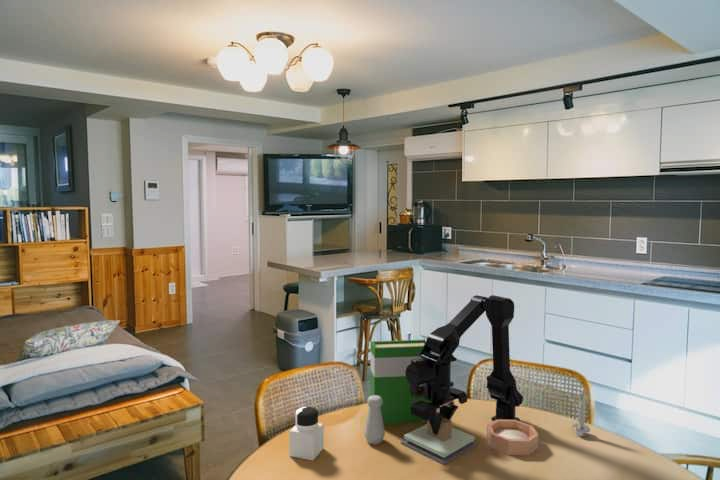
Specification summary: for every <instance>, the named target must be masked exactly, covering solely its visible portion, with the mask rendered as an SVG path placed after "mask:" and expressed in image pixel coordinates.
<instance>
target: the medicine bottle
mask: <svg viewBox="0 0 720 480" xmlns="http://www.w3.org/2000/svg"><path fill="white" fill-rule="evenodd" d="M324 432H325V427H324V424H323V423H322V422H319V411H318V409H316V408H315V407H312V406H303V407H300V408H298V409H296V411H295V425H294V426H293V427H292V428H291V429H290V430H289V433H288V435H289V436H288V443H289V447H288V448H289V452H288V455H289V457H293V458H296V459H297V458H298V459H301V460H308V461H311V462H312V461H314V460H315V459H316V458H317V456H318V455H319V454H320V453H321V452H322V451H323V450H324V447H325V446H324V445H325V439H324V434H325V433H324Z"/></svg>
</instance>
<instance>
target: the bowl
mask: <svg viewBox="0 0 720 480" xmlns="http://www.w3.org/2000/svg"><path fill="white" fill-rule="evenodd" d="M539 435H540V434H539V433H538V432H537V430H536V429H535V427H534V426H533V425H531V424H528V423H525V422H523V421H520V420H519V421H517V420H503V419H497V420H495V421H494V420H492V421H491V422H490V423H487V424H486V440H487V442H488V444H489V446H490V448H491V449H494V450H495V451H498V452H500V453H503V454H505V455H508V456H530V455H532V454H533V453H534V452H535V451H537V450H539V439H540V438H539Z"/></svg>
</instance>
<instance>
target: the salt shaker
mask: <svg viewBox="0 0 720 480" xmlns="http://www.w3.org/2000/svg"><path fill="white" fill-rule="evenodd" d="M366 402H367V405H368V406H369V407H368V411H367V412H368V413H367V419H366V423H365V428H364V432H363V433H364V437H365V438H366V441H367V442H368V443H369V444H370V445H374V446H375V445H376V446H377V445H380V444H382V443H383V440H384V438H385V436H386V431H385V425H383V419H382V414H381V408H380V406H382V403H383V400H382V398H381V397H380V396H378V395H372V396H370V395H369V396H368V397H367V401H366Z"/></svg>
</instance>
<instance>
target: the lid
mask: <svg viewBox="0 0 720 480" xmlns="http://www.w3.org/2000/svg"><path fill="white" fill-rule="evenodd" d="M452 425H453V423H452V419H451V420H449V419H446V418H444V417H442V421H441V424H440V428H439V431H438V434H437V435H435V434H434V433H433V431H432V428H431V425H430V422H429V420H428V422H427V423H426V424H424V425H423V426H420V427H418V428H416V429H414V430H412V431H410V432H407V433H405V434H404V435H403V440H405V439H406V440H408V441H410V442H412V443H414V444H416V445H418V446H421V447H423V448H425V449H427V450H429V451H431V452H433V453H435V454H437V455H439V456H441V457H444V458H445V457H446V456H448V455H450V454H452V453H453V452H455V451H457V450H458V449H460V448H462V447H464V446H465V445H467V444H469V443H471V442H474V441H475V440H476V439H475V437H476V436H474V435H471V434H470V433H468V432H464V431H462V430H460V429H457V428H456V427H453V426H452Z"/></svg>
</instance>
